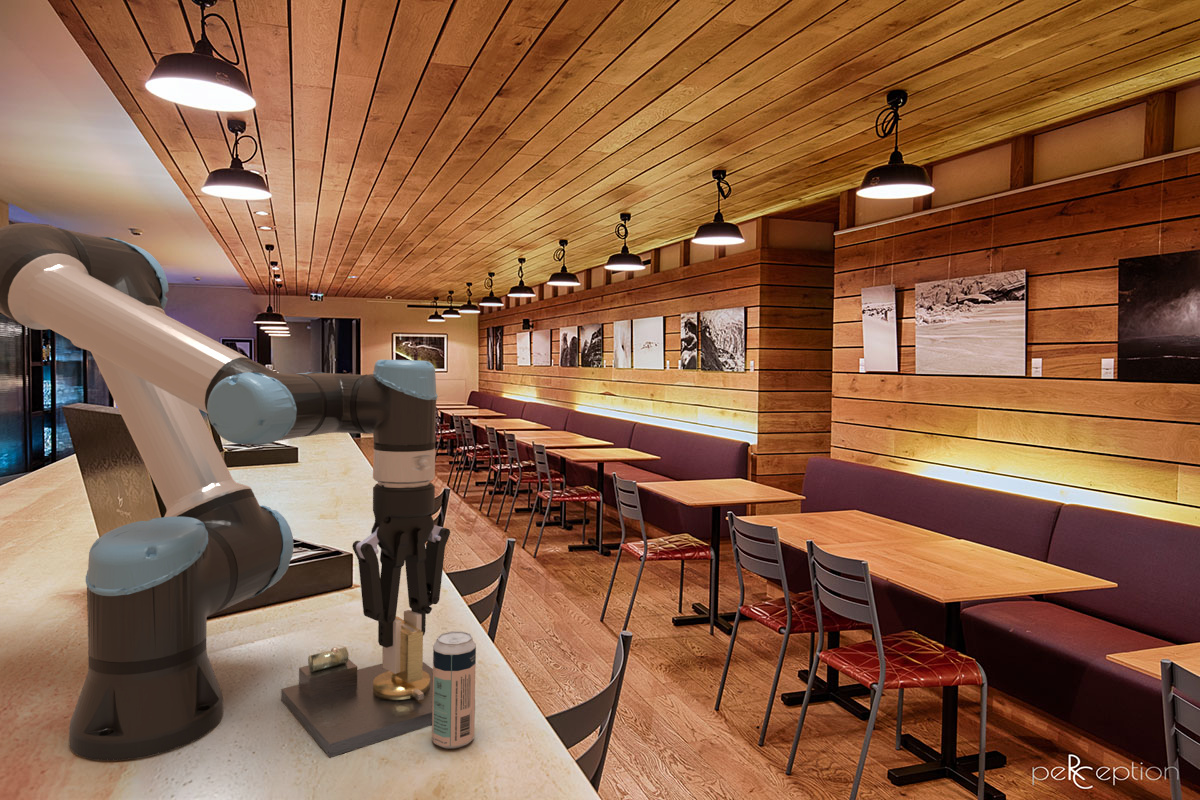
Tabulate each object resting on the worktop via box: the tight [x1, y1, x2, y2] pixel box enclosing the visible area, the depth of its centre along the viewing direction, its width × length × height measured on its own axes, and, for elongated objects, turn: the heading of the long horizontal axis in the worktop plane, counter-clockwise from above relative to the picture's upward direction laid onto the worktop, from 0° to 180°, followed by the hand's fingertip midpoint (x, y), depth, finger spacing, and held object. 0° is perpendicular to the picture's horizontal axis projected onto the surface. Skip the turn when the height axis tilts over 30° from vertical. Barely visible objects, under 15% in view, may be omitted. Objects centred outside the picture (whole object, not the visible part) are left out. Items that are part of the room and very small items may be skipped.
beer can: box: [431, 630, 477, 750], centre depth 83 cm, size 5×5×12 cm
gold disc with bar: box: [373, 616, 430, 700], centre depth 92 cm, size 7×9×8 cm
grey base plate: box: [280, 646, 433, 758], centre depth 92 cm, size 18×17×6 cm
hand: (401, 665), depth 93 cm, fingers closed on gold disc with bar, 2 cm apart
